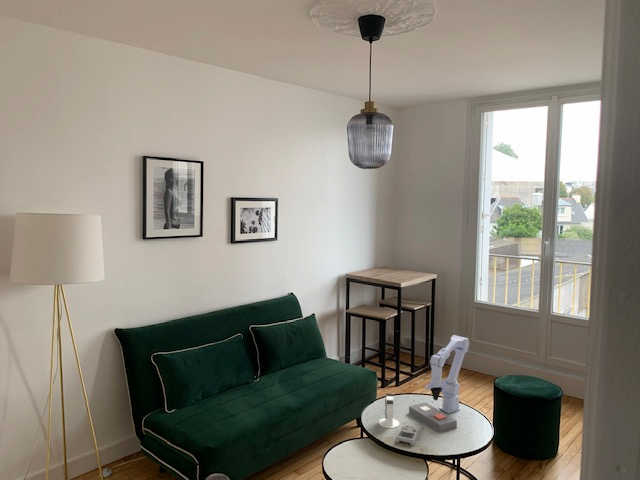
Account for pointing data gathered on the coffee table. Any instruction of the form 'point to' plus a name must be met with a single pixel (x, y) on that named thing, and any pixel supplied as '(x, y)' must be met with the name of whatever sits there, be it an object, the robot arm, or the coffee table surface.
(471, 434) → the coffee table surface
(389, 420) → the white post stand
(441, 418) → the red plug
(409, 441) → the handheld gaming device
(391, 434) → the coffee table surface
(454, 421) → the console
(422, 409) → the plug
